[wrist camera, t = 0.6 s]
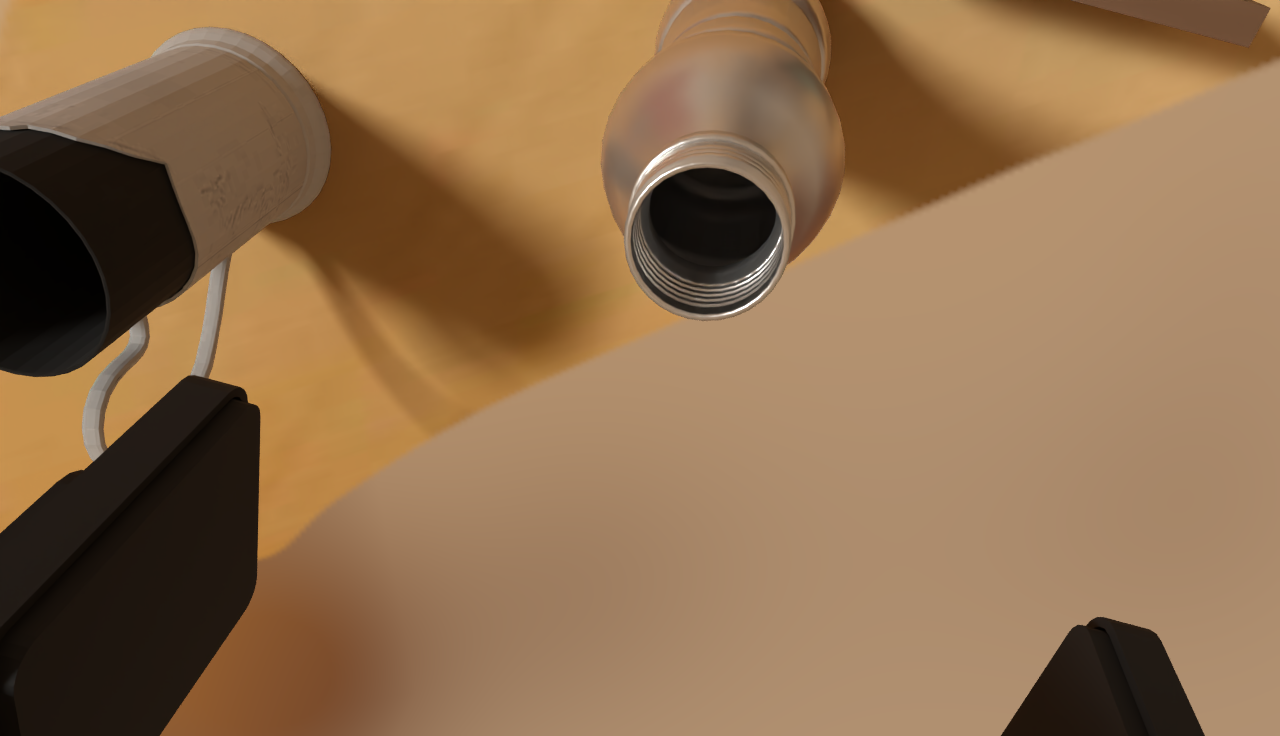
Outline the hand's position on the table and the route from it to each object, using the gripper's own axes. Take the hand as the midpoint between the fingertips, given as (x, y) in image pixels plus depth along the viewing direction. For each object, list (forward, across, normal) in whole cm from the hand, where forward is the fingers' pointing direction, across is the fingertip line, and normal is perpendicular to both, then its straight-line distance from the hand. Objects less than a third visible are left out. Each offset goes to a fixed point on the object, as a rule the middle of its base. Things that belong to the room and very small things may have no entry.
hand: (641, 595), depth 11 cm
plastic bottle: (+31, 0, 0) cm, 31 cm away
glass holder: (+31, +20, +12) cm, 39 cm away
